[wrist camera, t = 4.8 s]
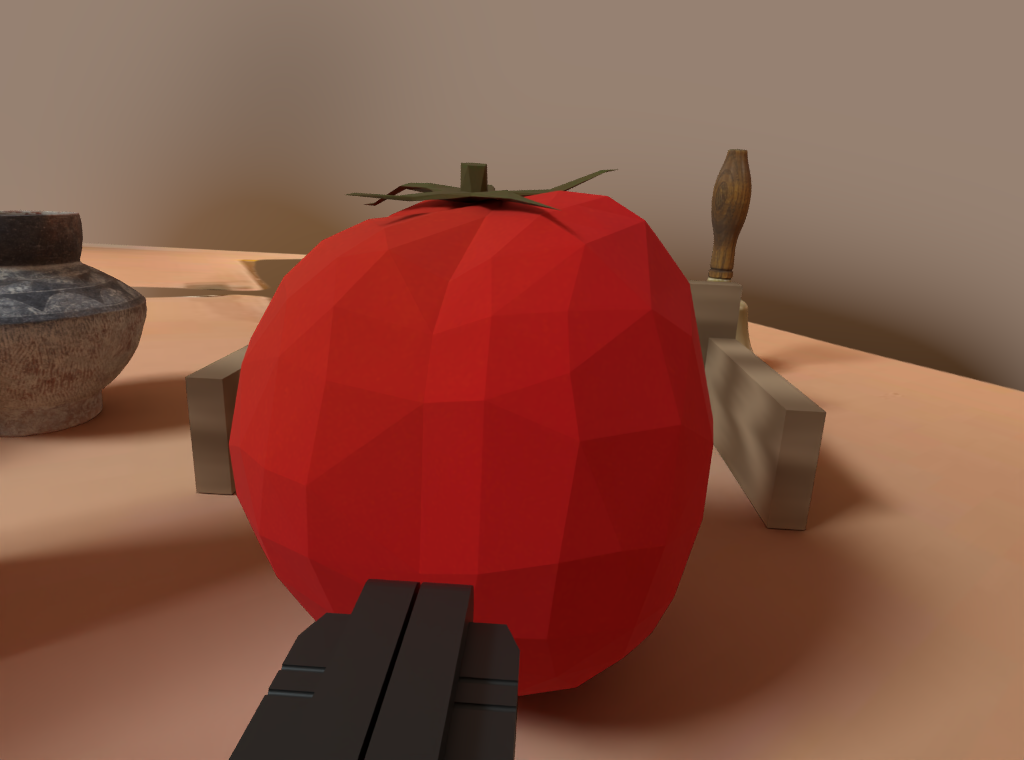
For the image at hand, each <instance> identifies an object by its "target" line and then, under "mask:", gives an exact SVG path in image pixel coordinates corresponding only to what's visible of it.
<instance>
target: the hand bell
mask: <svg viewBox="0 0 1024 760" xmlns="http://www.w3.org/2000/svg"><path fill="white" fill-rule="evenodd" d="M750 198H751V176H750V170H749V164H748V157H747V150H740V149H731V150H728V154H727V156H726V159H725V161H724V164H723V166H722V168H721V170H720V172H719V175H718V177H717V180H716V183H715V186H714V191H713V197H712V211H711V213H712V225H713V231H714V247H713V253H712V259H711V264H710V267H711V269H710V270H709V274H708V276H709V277H708V280H707V281H714V282H731V278H732V277H733V272H732V269H733V265H734V256H735V247H736V243H737V239H738V236H739V233H740V231H741V229H742V227H743V224H744V222H745V219H746V216H747V213H748V209H749V204H750ZM736 340H737V341H739V342H740V343H741V344H742V345H744V346H745V347H746V348H747V349H749V350H750V351H751V352H752V353H753V350H752V348H751V344H750V340H749V333H748V307H747V304H746V303H745V302H744V301H742V300H741V302H740V309H739V317H738V324H737V332H736Z"/></svg>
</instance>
